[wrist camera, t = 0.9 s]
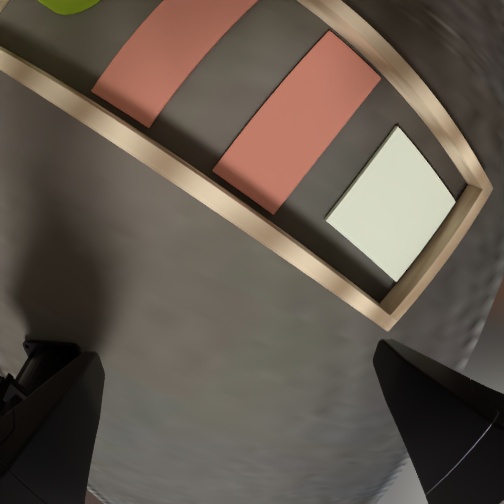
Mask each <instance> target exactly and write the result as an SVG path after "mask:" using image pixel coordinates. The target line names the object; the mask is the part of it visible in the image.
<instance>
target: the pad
mask: <svg viewBox="0 0 504 504" xmlns="http://www.w3.org/2000/svg"><path fill="white" fill-rule="evenodd" d="M455 202H456V201H455V200H454V198H453V197H452V195H451V194H450V192H449V191H448V190H447V188H446V187H445V185H444V184H443V182H442V181H441V180H440V178H439V177H438V176H437V174H436V173H435V172H434V170H433V169H432V168H431V166H430V165H429V164H428V162H427V161H426V160H425V158H424V157H423V156H422V155H421V153H420V152H419V151H418V150H417V148H416V147H415V146H414V145H413V144H412V142H411V141H410V140H409V139H408V138H407V136H406V135H405V134H404V133H403V132H402V131H401V129H400V128H399V127H397V126H395V127H394V129H393V130H392V131H391V133H390V134H389V135H388V137H387V138H386V139H385V141H384V142H383V143H382V145H381V146H380V147H379V149H378V150H377V151H376V153H375V154H374V155H373V157H372V158H371V159H370V161H369V162H368V163H367V165H366V166H365V167H364V168H363V170H362V171H361V172H360V174H359V175H358V176H357V178H356V179H355V180H354V181H353V183H352V184H351V185H350V187H349V188H348V189H347V190H346V192H345V193H344V194H343V196H342V197H341V198H340V199H339V201H338V202H337V203H336V205H335V206H334V207H333V208H332V210H331V211H330V212H329V213H328V215H327V216H326V217H325V218H324V220H326V221H327V222H328V223H329V224H330V225H332V226H333V227H334V228H335V229H336V230H338V231H339V232H340V233H341V234H342V235H344V236H345V237H346V238H347V239H348V240H349V241H351V242H352V243H353V244H354V245H355V246H356V247H358V248H359V249H360V250H361V251H362V252H363V253H364V254H366V255H367V256H368V257H369V258H370V259H371V260H372V261H374V262H375V263H376V264H377V265H378V266H379V267H380V268H381V269H382V270H384V271H385V272H386V273H387V274H388V275H389V276H390V277H391V278H392V279H393V280H395V281H396V282H397V281H398V280H399V278H400V277H401V276H402V275H403V274H404V272H405V271H406V270H407V269H408V267H409V266H410V265H411V263H412V262H413V261H414V260H415V258H416V257H417V256H418V254H419V253H420V252H421V250H422V249H423V248H424V246H425V245H426V244H427V242H428V241H429V240H430V238H431V237H432V236H433V234H434V233H435V231H436V230H437V229H438V227H439V226H440V224H441V223H442V222H443V220H444V219H445V217H446V216H447V214H448V213H449V211H450V210H451V208H452V207H453V205H454V204H455Z"/></svg>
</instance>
